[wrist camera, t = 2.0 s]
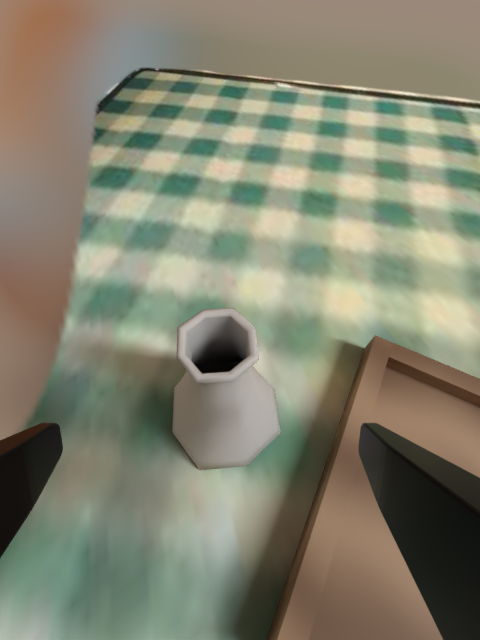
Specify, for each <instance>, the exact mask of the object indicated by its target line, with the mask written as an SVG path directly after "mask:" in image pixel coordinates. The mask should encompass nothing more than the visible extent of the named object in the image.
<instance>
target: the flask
mask: <svg viewBox="0 0 480 640" xmlns="http://www.w3.org/2000/svg"><path fill="white" fill-rule="evenodd" d="M177 360H178V361H179V362H180V363H181V365H182V366H183V367H184V368H185V369H186V373H185V374H184V376H183V378H182V379H181V380H180V381H179V382H178V384H177V385H176V386H175V388H174V401H173V427H172V433H173V434H174V435H175V437H176V438H177V439H178V441H179V442H180V444H181V445H182V446H183V448H184V449H185V450H186V452H187V453H188V455H189V456H190V457H191V459H192V460H193V461H194V463H195V464H196V466H197V467H198V468H199V470H207V469H218V468H229V467H240V466H248V465H249V464H250V463H251V462H252V461H253V460H254V459H255V458H256V457H257V456H258V455H259V454H260V453H261V452H262V451H263V450H264V449H265V448H266V447H267V446H268V445H269V444H270V443H271V442H272V441H273V440H274V439H275V438H276V437H277V436H278V435H279V434H280V433H281V431H280V424H279V418H278V411H277V404H276V397H275V390H274V388H273V387H272V386H271V385H270V384H269V383H268V382H267V381H266V380H265V379H264V378H263V377H262V376H261V375H260V374H259V373H258V372H257V371H256V370H255V369H254V367H253V365H254V364H255V363H256V362H257V361H258V360H259V355H258V348H257V340H256V332H255V327H254V326H252V325H251V324H250V323H249V322H248V321H247V320H246V319H245V318H244V317H243V316H242V315H241V314H240V313H239V312H238V311H237V310H236V309H235V308H224V309H208V310H202V311H201V312H199V313H198V314H196V315H195V316H193V317H192V318H191V319H189V320H188V321H186V322H185V323H183V324H182V325H180V326H179V327H178V328H177Z"/></svg>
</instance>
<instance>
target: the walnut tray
mask: <svg viewBox="0 0 480 640" xmlns="http://www.w3.org/2000/svg"><path fill="white" fill-rule="evenodd" d="M363 423H378V424H380V425H381V426H383V427H385V428H387V429H389V430H391V431H393V432H395V433H396V434H398V435H400V436H402V437H404V438H406V439H408V440H410V441H412V442H413V443H415V444H417V445H419V446H421V447H423V448H425V449H427V450H428V451H430V452H432V453H434V454H436V455H438V456H440V457H442V458H444V459H445V460H447V461H449V462H451V463H453V464H455V465H457V466H459V467H461V468H462V469H464V470H466V471H468V472H470V473H472V474H474V475H476V476H478V477H479V478H480V379H479V378H476V377H474V376H471V375H469V374H467V373H464V372H462V371H459V370H457V369H455V368H452V367H450V366H447V365H445V364H443V363H440V362H438V361H435V360H433V359H431V358H428V357H426V356H423V355H421V354H419V353H416V352H414V351H411V350H409V349H407V348H404V347H402V346H400V345H397V344H395V343H392V342H390V341H388V340H385V339H383V338H380V337H378V336H376V335H375V337H374V338H373V339H372V340H371V341H370V342H369V344H368V345H367V346H366V347H365V349H364V352H363V355H362V358H361V361H360V364H359V367H358V370H357V373H356V376H355V379H354V382H353V385H352V388H351V390H350V393H349V396H348V399H347V402H346V405H345V408H344V411H343V414H342V417H341V420H340V423H339V426H338V429H337V432H336V435H335V438H334V441H333V444H332V447H331V450H330V453H329V456H328V459H327V462H326V465H325V468H324V471H323V474H322V477H321V480H320V483H319V486H318V489H317V492H316V495H315V498H314V501H313V504H312V507H311V510H310V513H309V515H308V518H307V521H306V524H305V527H304V530H303V533H302V536H301V539H300V542H299V545H298V548H297V551H296V554H295V557H294V560H293V563H292V566H291V569H290V572H289V575H288V578H287V581H286V584H285V587H284V590H283V593H282V596H281V599H280V602H279V605H278V608H277V611H276V614H275V617H274V620H273V623H272V626H271V629H270V632H269V635H268V638H267V640H443V638H442V636H441V634H440V632H439V630H438V628H437V626H436V624H435V622H434V620H433V618H432V616H431V614H430V612H429V610H428V608H427V606H426V603H425V601H424V599H423V597H422V595H421V593H420V591H419V589H418V587H417V585H416V583H415V581H414V579H413V577H412V575H411V573H410V571H409V569H408V567H407V564H406V562H405V560H404V558H403V556H402V554H401V552H400V550H399V548H398V546H397V544H396V542H395V540H394V538H393V536H392V534H391V532H390V530H389V527H388V525H387V523H386V521H385V519H384V517H383V515H382V513H381V511H380V509H379V506H378V504H377V501H376V499H375V496H374V494H373V491H372V488H371V486H370V483H369V480H368V477H367V475H366V472H365V469H364V467H363V464H362V461H361V458H360V456H359V451H358V445H359V436H360V428H361V425H362V424H363Z"/></svg>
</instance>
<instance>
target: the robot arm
mask: <svg viewBox="0 0 480 640" xmlns="http://www.w3.org/2000/svg"><path fill="white" fill-rule="evenodd" d="M62 450H63V445H62V439H61V433H60V427H59V425H58V424H57V423H40V424H38V425H36V426H33V427H31V428H29V429H26V430H24V431H22V432H19V433H17V434H14V435H12V436H10V437H7V438H5V439H3V440H0V558H1V556H2V555H3V553H4V552H5V550H6V549H7V547H8V546H9V544H10V542H11V541H12V539H13V538H14V536H15V535H16V533H17V532H18V530H19V529H20V527H21V526H22V524H23V523H24V521H25V520H26V518H27V516H28V515H29V513H30V512H31V510H32V508H33V507H34V505H35V503H36V501H37V500H38V498H39V496H40V494H41V492H42V490H43V489H44V487H45V485H46V483H47V481H48V479H49V477H50V475H51V474H52V472H53V470H54V468H55V466H56V464H57V462H58V460H59V459H60V457H61V454H62ZM358 451H359V456H360V458H361V461H362V464H363V467H364V469H365V472H366V475H367V477H368V480H369V483H370V486H371V488H372V491H373V494H374V496H375V499H376V501H377V504H378V506H379V509H380V511H381V513H382V515H383V517H384V519H385V521H386V523H387V525H388V527H389V530H390V532H391V534H392V536H393V538H394V540H395V542H396V544H397V546H398V548H399V550H400V552H401V554H402V556H403V558H404V560H405V562H406V564H407V567H408V569H409V571H410V573H411V575H412V577H413V579H414V581H415V583H416V585H417V587H418V589H419V591H420V593H421V595H422V597H423V599H424V601H425V603H426V606H427V608H428V610H429V612H430V614H431V616H432V618H433V620H434V622H435V624H436V626H437V628H438V630H439V632H440V634H441V636H442V638H443V640H480V478H479V477H478V476H476V475H474V474H472V473H470V472H468V471H466V470H464V469H462V468H461V467H459V466H457V465H455V464H453V463H451V462H449V461H447V460H445V459H444V458H442V457H440V456H438V455H436V454H434V453H432V452H430V451H428V450H427V449H425V448H423V447H421V446H419V445H417V444H415V443H413V442H412V441H410V440H408V439H406V438H404V437H402V436H400V435H398V434H396V433H395V432H393V431H391V430H389V429H387V428H385V427H383V426H381V425H380V424H378V423H363V424H362V425H361V428H360V436H359V445H358Z"/></svg>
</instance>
